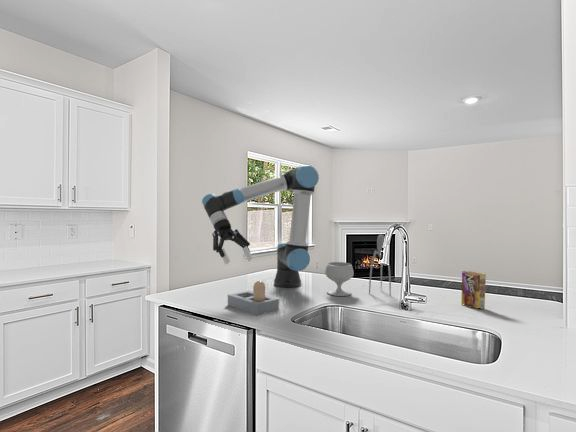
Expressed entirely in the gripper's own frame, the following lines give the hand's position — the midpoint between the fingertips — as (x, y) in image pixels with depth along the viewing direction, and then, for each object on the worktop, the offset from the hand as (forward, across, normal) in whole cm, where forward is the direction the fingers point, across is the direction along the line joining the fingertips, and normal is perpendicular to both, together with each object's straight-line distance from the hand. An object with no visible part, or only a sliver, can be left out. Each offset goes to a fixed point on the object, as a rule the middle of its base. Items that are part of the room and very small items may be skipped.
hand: (239, 261), depth 159 cm
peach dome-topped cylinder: (+23, +2, 0) cm, 23 cm away
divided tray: (+21, +1, -4) cm, 21 cm away
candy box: (+65, -65, +51) cm, 105 cm away
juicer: (+40, -59, +20) cm, 74 cm away
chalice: (+30, -45, +7) cm, 54 cm away
